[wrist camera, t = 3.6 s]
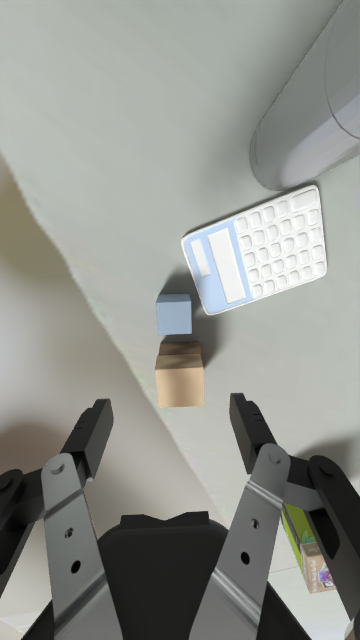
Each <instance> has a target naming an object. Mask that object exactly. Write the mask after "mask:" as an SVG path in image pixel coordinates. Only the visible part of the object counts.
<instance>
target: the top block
mask: <svg viewBox="0 0 360 640" xmlns="http://www.w3.org/2000/svg"><path fill="white" fill-rule="evenodd" d="M155 375H156V385H157V394H158V403H159V408H165V407H185V406H204V375H203V363H202V359H201V354H200V353H198V354H178V355H157V361H156V366H155Z"/></svg>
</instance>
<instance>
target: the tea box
mask: <svg viewBox="0 0 360 640" xmlns="http://www.w3.org/2000/svg"><path fill="white" fill-rule="evenodd" d="M280 520H281V522H282V525H283V527H284V530H285V532H286V535H287V537H288V540H289V542H290V545H291V547H292V550H293V552H294V555H295V557H296V560H297V562H298V565H299V567H300V570H301V573H302V575H303V578H304V580H305V583H306V585H307V588H308V590H309V593H310V594H312V593H318V592H324V591H329V590H335V589H336V586H335V584H334V582H333V579H332V577H331V575H330V572H329V570H328V568H327V565H326V563H325V561H324V558H323V556H322V554H321V551H320V549H319V547H318V544H317V542H316V540H315V537H314V535H313V533H312V530H311V528H310V526H309V523H308V521H307V519H306V516H305V514H304V512H303V509H300V508H297V507H294V506H291V505H288V504H285V503H282V510H281V515H280Z"/></svg>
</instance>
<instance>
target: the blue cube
mask: <svg viewBox="0 0 360 640" xmlns="http://www.w3.org/2000/svg"><path fill="white" fill-rule="evenodd" d="M156 312H157V324H158V335H170V334H192V324H191V299H190V295H189V293H186V294H162V295H158V298H157V301H156Z"/></svg>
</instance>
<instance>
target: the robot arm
mask: <svg viewBox="0 0 360 640" xmlns="http://www.w3.org/2000/svg"><path fill="white" fill-rule="evenodd" d="M359 155H360V0H343V2H342V3H341V4H340V6H339V7H338V9H337V10H336V12H335V13H334V15H333V16H332V18H331V19H330V21H329V22H328V24H327V25H326V26H325V28H324V29H323V31H322V32H321V34H320V35H319V37H318V38H317V40H316V41H315V43H314V44H313V46H312V47H311V48H310V50H309V51H308V53H307V54H306V56H305V57H304V59H303V60H302V62H301V63H300V65H299V66H298V68H297V69H296V70H295V72H294V73H293V75H292V76H291V78H290V79H289V81H288V82H287V84H286V85H285V87H284V88H283V90H282V91H281V92H280V94H279V95H278V97H277V98H276V100H275V101H274V103H273V104H272V106H271V107H270V108H269V110H268V111H267V113H266V114H265V116H264V117H263V119H262V120H261V122H260V123H259V125H258V127H257V129H256V131H255V132H254V135H253V138H252V141H251V147H250V162H251V167H252V170H253V173H254V175H255V177H256V178H257V180H258V181H259V182H260V183H261V184H262V185H263V186H264V187H266V188H268V189H270V190H275V191H284V190H287V189H291V188H293V187H295V186H297V185H299V184H301V183H303V182H305V181H307V180H310V179H312V178H314V177H316V176H318V175H320V174H322V173H324V172H326V171H328V170H330V169H332V168H334V167H336V166H338V165H340V164H342V163H344V162H346V161H348V160H350V159H353V158H355V157H357V156H359ZM229 414H230V420H231V424H232V427H233V430H234V433H235V436H236V440H237V443H238V446H239V449H240V452H241V456H242V459H243V462H244V465H245V468H246V472H247V474H251V477H250V480H249V482H247V483H246V486H245V488H244V491H243V494H242V496H241V499H240V502H239V505H238V507H237V510H236V513H235V516H234V518H233V521H232V524H231V526H230V529H229V530H228V529H226V528H225V527H224V526H223V525H221V524H219V523H218V522H216V521H214V520H211V519H209V514H208V511H201V512H186V513H184V514H181V515H179V516H176V517H174V518H171V519H168V520H165V521H164V520H159V519H157V518H153V517H150V516H147V515H143V514H141V515H122V516H121V521H120V524H119V525H117V526H115V527H113V528H111V529H110V530H108V531H107V532H106V533H105V534H103V536H101V537H100V538H99V539H98V537H97V534H96V531H95V527H94V524H93V521H92V517H91V514H90V510H89V507H88V504H87V500H86V497H85V494H84V491H83V489H84V486H85V483H86V481H94V478H95V475H96V472H97V469H98V467H99V464H100V461H101V458H102V455H103V452H104V449H105V446H106V443H107V440H108V438H109V435H110V432H111V429H112V426H113V412H112V407H111V402H110V399H97V400H96V401H95V404H94V405H93V407H92V408H88V409H86V410H85V412H83V413H82V414H81V416H80V418H79V420H78V421H77V423H76V425H75V427H74V430H72V432H71V434H70V436H69V438H68V439H67V441H66V443H65V445H64V447H63V448H62V450H61V452H60V454H59V455H56V456H55V457H53V458H52V459H50V460H49V461H48V462H47V463H46V465H45V466H44V467H43V468H41V469H39V470H36V471H33V472H30V473H27V474H24V475H23V473H22V471H21V470H19V469H13V470H9V471H7V472H5V473H3V474H2V475H0V598H1V595H2V593H3V591H4V589H5V587H6V585H7V582H8V580H9V578H10V576H11V573H12V572H13V569H14V567H15V565H16V563H17V561H18V558H19V556H20V554H21V552H22V550H23V548H24V545H25V543H26V541H27V539H28V537H29V534H30V532H31V530H32V528H33V526H34V524H35V522H36V521H37V520H39V519H42V518H44V529H45V538H46V548H47V557H48V565H49V575H50V583H51V592H52V600H51V601H50V602H49V604H48V605H47V606H46V608H45V609H44V610H43V611H42V613H41V614H40V615H39V617H38V618H37V619H36V621H35V622H34V623H33V624H32V626H31V627H30V628H29V630H28V631H27V632H26V634H25V635H24V636H23V638H22V639H21V640H312V639H311V638H310V637H309V635H308V634H307V633H306V631H305V630H304V629H303V627H302V626H301V625H300V623H299V622H298V621H297V619H296V618H295V617H294V615H293V614H292V613H291V611H290V610H289V609H288V607H287V606H286V605H285V603H284V602H283V601H282V599H281V598H280V597H279V595H278V594H277V593H276V591H275V590H274V589H273V587H272V586H271V585H270V583H269V582H268V581H267V579H268V574H269V569H270V564H271V560H272V555H273V550H274V545H275V540H276V535H277V530H278V525H279V520H280V515H281V510H282V503H285V504H288V505H291V506H294V507H297V508H300V509H303V512H304V514H305V516H306V519H307V521H308V523H309V526H310V528H311V530H312V533H313V535H314V537H315V540H316V542H317V544H318V547H319V549H320V551H321V554H322V556H323V558H324V561H325V563H326V565H327V568H328V570H329V572H330V575H331V577H332V579H333V582H334V584H335V586H336V589H337V591H338V593H339V595H340V598H341V600H342V602H343V605H344V607H345V609H346V612H347V614H348V616H349V619H350V621H351V622H350V624H349V625H348V627H347V629H346V631H345V640H360V496H359V495H358V493H357V492H356V491H355V489H354V488H353V486H352V485H351V483H350V482H349V480H348V479H347V477H346V476H345V474H344V473H343V471H342V470H341V469H340V467H339V466H338V465H337V464H336V463H334V462H333V461H332V460H330V459H328V458H326V457H324V456H320V455H315V456H312V457H311V458H310V460H309V461H307V460H303V459H299V458H296V457H293V456H290V455H288V454H287V452H286V451H285V450H284V449H283V448H281V447H280V446H278V445H277V443H276V441H275V439H274V437H273V435H272V433H271V431H270V429H269V427H268V425H267V423H266V421H265V419H264V417H263V415H262V413H261V411H260V410H259V408H258V406H257V405H256V404H255V403H254V402H253V401H246V399H245V397H244V394H243V393H231V395H230V409H229Z"/></svg>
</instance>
